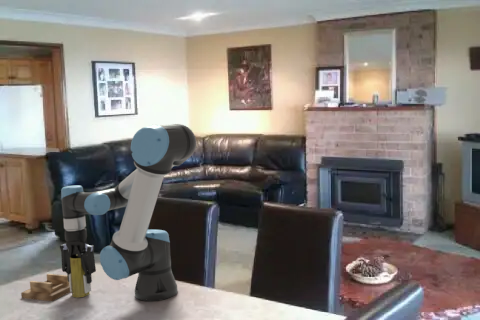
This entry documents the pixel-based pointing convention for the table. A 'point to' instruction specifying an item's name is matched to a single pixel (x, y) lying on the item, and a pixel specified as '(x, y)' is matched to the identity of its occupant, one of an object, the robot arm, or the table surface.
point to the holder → (48, 288)
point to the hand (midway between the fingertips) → (80, 291)
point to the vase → (77, 278)
